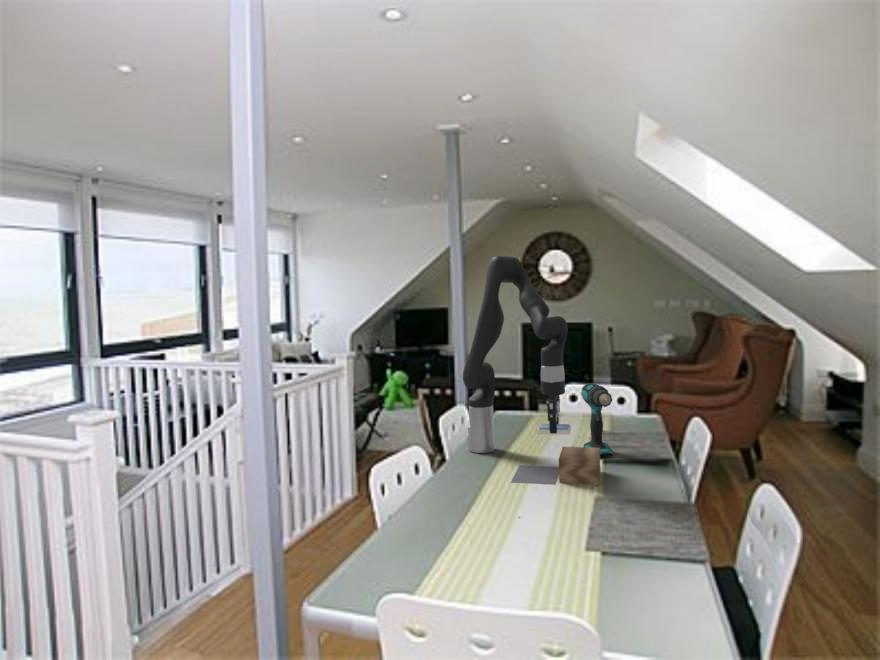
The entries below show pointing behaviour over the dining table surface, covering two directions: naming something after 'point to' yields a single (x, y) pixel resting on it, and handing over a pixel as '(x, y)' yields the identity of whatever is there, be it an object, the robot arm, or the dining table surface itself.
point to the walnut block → (579, 465)
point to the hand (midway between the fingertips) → (554, 430)
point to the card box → (561, 429)
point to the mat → (536, 475)
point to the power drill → (596, 414)
